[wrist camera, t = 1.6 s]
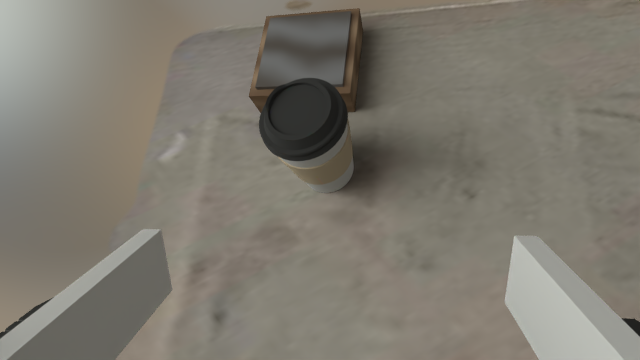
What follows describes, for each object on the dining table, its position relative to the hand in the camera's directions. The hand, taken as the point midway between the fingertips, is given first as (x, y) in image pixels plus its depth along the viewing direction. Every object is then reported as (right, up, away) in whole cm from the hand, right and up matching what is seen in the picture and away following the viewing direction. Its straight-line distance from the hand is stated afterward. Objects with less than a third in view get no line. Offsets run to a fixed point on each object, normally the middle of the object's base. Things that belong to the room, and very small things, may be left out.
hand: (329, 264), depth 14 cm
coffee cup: (+1, +5, +34) cm, 35 cm away
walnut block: (-1, +19, +40) cm, 45 cm away
